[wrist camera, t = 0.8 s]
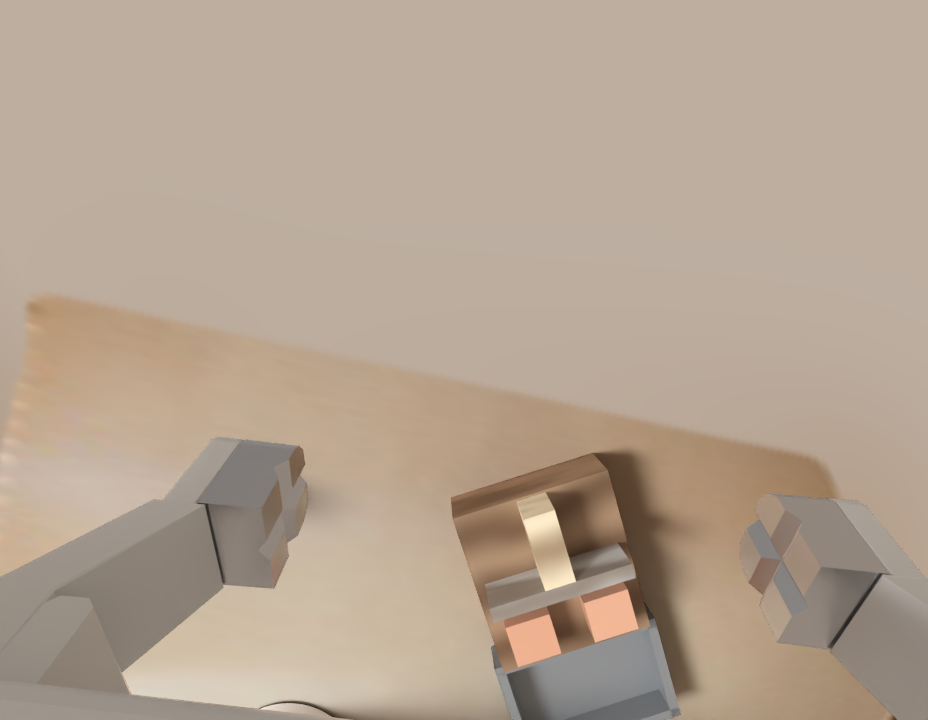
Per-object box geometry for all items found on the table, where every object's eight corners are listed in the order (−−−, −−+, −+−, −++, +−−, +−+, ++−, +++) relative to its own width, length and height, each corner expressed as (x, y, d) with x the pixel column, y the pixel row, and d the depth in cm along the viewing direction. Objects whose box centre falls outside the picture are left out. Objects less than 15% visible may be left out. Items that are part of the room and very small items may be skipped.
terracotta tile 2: (555, 636, 55) (561, 653, 52) (514, 649, 55) (518, 667, 52) (544, 598, 54) (549, 614, 52) (501, 612, 54) (505, 628, 52)
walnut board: (632, 597, 60) (650, 626, 55) (498, 640, 60) (504, 673, 55) (592, 453, 57) (607, 470, 52) (450, 497, 57) (452, 518, 52)
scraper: (620, 555, 54) (635, 577, 50) (489, 597, 54) (493, 622, 50) (598, 475, 52) (612, 491, 48) (463, 518, 52) (465, 538, 48)
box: (667, 690, 62) (680, 714, 59) (521, 737, 62) (526, 764, 59) (642, 598, 60) (654, 618, 57) (491, 646, 60) (494, 669, 57)
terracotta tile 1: (629, 612, 55) (638, 628, 52) (587, 625, 55) (595, 642, 52) (618, 575, 54) (627, 589, 52) (576, 588, 54) (583, 603, 52)
